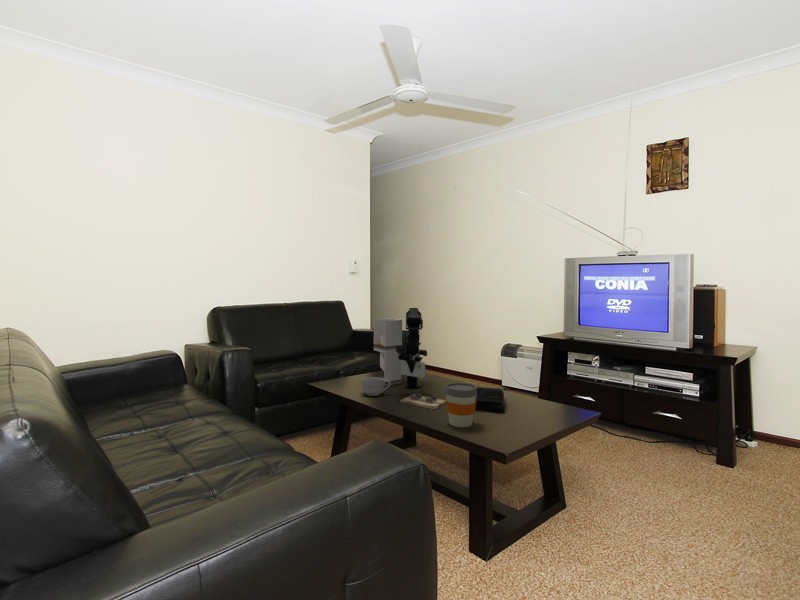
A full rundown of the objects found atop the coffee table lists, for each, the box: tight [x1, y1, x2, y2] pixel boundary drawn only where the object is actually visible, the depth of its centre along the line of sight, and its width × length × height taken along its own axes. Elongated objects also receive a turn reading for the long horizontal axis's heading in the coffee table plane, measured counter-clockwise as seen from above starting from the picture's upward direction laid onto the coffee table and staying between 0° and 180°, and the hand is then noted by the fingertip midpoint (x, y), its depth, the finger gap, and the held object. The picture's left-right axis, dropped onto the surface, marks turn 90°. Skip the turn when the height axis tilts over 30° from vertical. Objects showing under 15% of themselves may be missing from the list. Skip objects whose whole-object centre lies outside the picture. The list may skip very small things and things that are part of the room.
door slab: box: [401, 360, 426, 379], centre depth 214 cm, size 3×12×7 cm, turn 58°
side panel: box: [399, 392, 446, 410], centre depth 204 cm, size 12×18×3 cm, turn 59°
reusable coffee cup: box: [445, 382, 477, 428], centre depth 175 cm, size 13×12×15 cm
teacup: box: [361, 376, 392, 397], centre depth 216 cm, size 14×11×8 cm
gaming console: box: [475, 386, 506, 414], centre depth 204 cm, size 27×20×7 cm
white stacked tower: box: [373, 317, 403, 387], centre depth 241 cm, size 11×11×35 cm
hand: (412, 372), depth 215 cm, fingers closed on door slab, 2 cm apart
